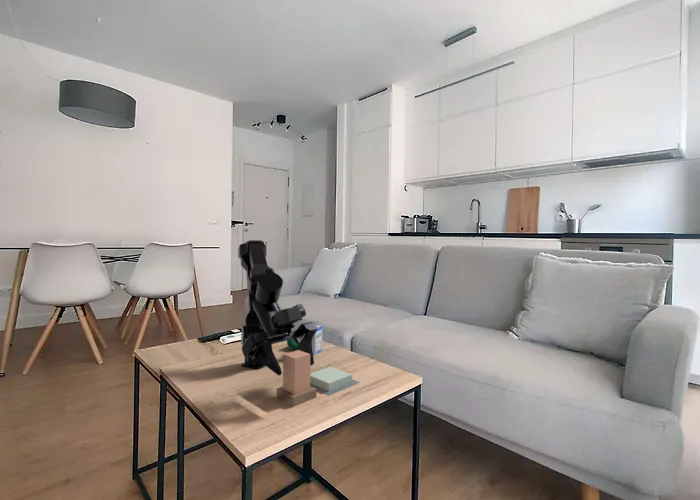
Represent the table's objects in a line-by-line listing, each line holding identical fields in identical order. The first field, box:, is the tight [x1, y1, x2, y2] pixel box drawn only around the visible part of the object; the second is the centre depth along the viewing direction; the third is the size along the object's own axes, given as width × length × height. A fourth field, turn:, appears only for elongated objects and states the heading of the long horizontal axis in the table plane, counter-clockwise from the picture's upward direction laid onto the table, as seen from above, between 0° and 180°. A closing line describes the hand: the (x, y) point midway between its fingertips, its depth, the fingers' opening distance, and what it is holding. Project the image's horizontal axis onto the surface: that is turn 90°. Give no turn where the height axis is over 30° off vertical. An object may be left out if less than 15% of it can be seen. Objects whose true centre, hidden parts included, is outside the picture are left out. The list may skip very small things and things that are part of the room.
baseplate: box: [310, 378, 361, 397], centre depth 91 cm, size 11×11×1 cm
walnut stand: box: [275, 386, 318, 407], centre depth 82 cm, size 6×6×3 cm
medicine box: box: [312, 324, 323, 356], centre depth 117 cm, size 8×4×9 cm, turn 168°
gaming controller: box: [286, 339, 299, 351], centre depth 123 cm, size 9×4×6 cm
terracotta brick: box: [282, 350, 311, 394], centre depth 82 cm, size 4×4×8 cm
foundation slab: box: [310, 366, 353, 392], centre depth 91 cm, size 8×8×2 cm
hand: (297, 369), depth 82 cm, fingers open, 9 cm apart
